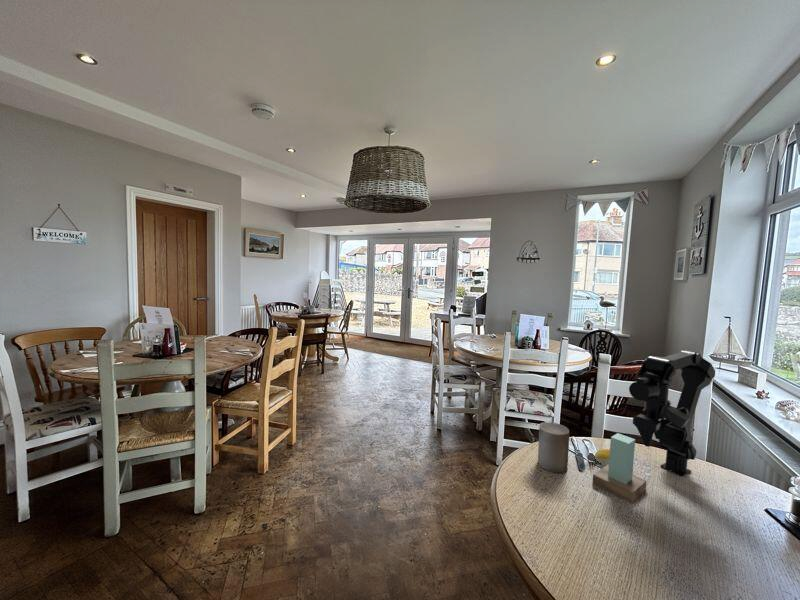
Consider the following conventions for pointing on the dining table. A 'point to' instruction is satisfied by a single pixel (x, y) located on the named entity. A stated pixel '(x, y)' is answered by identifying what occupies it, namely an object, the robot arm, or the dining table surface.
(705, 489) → the dining table surface
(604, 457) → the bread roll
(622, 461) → the pillar
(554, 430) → the pillar candle
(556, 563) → the dining table surface
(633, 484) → the walnut base
